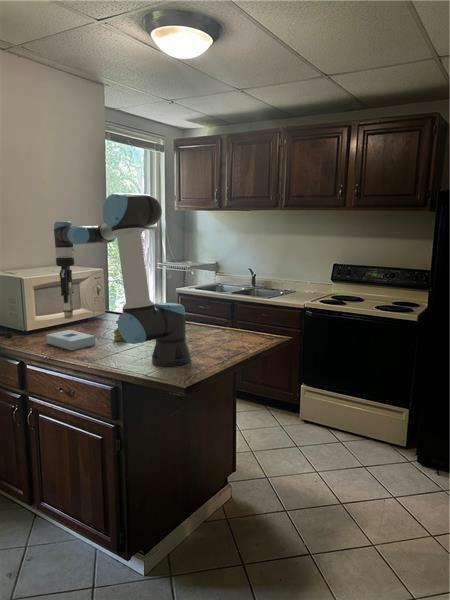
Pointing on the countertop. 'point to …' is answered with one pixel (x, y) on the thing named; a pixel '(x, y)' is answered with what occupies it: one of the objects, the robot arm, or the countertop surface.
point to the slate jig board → (70, 339)
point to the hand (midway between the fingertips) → (68, 308)
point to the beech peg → (69, 313)
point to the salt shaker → (118, 335)
